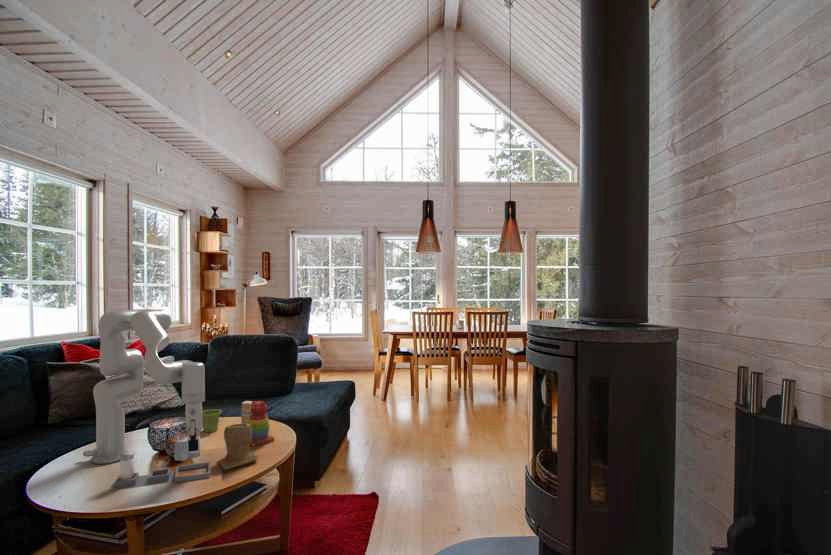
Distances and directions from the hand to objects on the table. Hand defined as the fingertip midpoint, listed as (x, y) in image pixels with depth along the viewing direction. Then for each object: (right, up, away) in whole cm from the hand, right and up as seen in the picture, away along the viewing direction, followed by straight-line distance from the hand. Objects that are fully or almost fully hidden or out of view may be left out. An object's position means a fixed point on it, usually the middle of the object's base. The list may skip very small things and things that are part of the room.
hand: (193, 448), depth 169 cm
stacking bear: (+11, -11, +38) cm, 41 cm away
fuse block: (-15, -11, -6) cm, 19 cm away
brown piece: (+10, -11, +13) cm, 20 cm away
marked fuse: (0, -3, 0) cm, 3 cm away
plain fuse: (-19, -9, -8) cm, 23 cm away
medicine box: (-11, -11, +16) cm, 22 cm away
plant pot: (-17, -11, +54) cm, 57 cm away
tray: (0, -11, 0) cm, 11 cm away
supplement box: (+2, -11, +55) cm, 56 cm away
